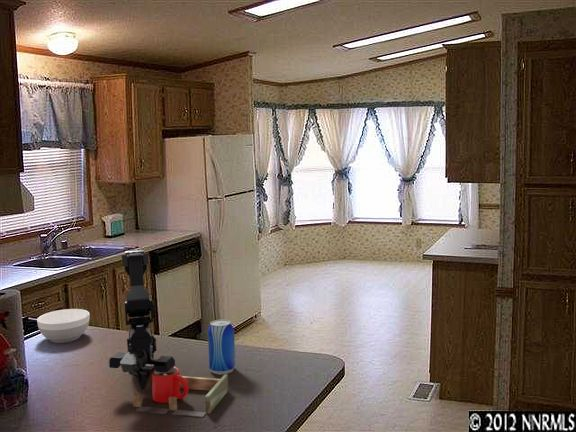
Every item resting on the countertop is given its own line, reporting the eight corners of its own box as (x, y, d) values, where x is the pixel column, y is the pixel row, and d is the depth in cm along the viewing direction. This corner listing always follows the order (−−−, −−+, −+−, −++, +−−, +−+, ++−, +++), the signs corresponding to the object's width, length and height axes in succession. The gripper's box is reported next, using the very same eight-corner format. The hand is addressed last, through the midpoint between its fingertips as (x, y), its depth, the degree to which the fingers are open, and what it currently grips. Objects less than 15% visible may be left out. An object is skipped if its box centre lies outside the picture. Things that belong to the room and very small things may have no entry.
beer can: (231, 376, 189) (229, 327, 187) (205, 374, 191) (203, 326, 189) (238, 366, 197) (236, 319, 195) (214, 365, 199) (212, 318, 197)
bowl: (31, 338, 231) (29, 316, 230) (79, 326, 243) (78, 305, 242) (49, 350, 217) (47, 327, 215) (99, 338, 229) (97, 315, 228)
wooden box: (129, 410, 167) (127, 393, 167) (157, 384, 184) (156, 369, 184) (206, 418, 162) (205, 400, 161) (228, 390, 179) (227, 374, 178)
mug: (180, 407, 168) (179, 380, 167) (146, 399, 174) (145, 373, 173) (197, 396, 175) (196, 370, 174) (163, 389, 181) (163, 364, 180)
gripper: (96, 346, 169) (100, 398, 171) (156, 350, 165) (159, 404, 167) (117, 333, 180) (120, 383, 182) (174, 337, 175) (177, 388, 177)
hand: (143, 389), depth 177 cm, fingers closed
